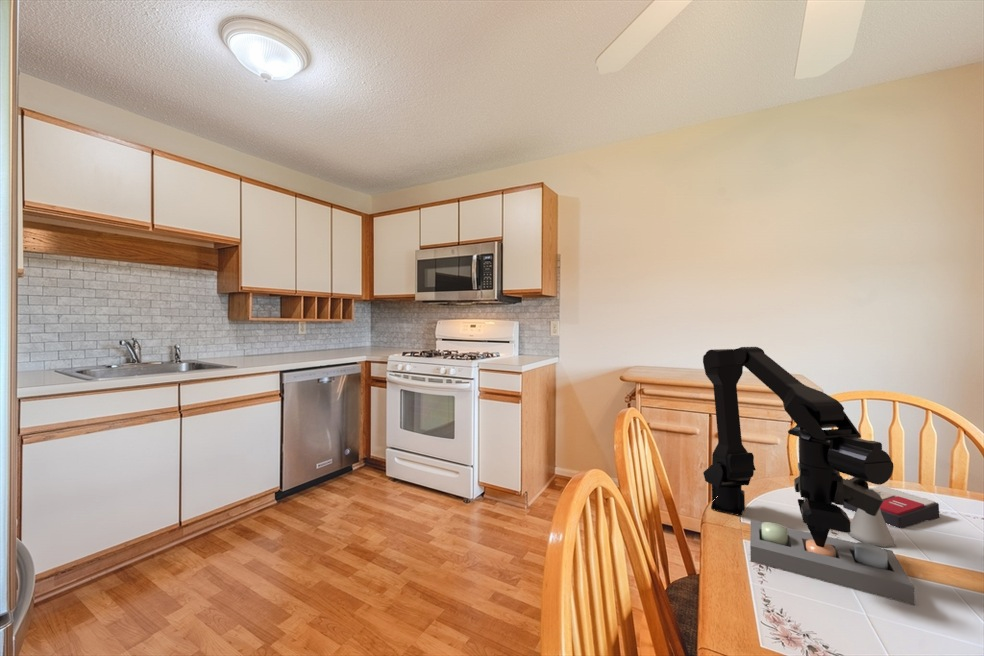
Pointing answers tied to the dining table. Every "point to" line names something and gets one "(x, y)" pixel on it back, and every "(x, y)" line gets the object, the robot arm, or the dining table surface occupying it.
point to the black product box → (903, 508)
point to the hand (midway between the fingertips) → (819, 545)
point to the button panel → (832, 564)
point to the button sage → (774, 533)
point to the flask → (871, 528)
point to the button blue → (871, 555)
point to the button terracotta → (820, 548)
